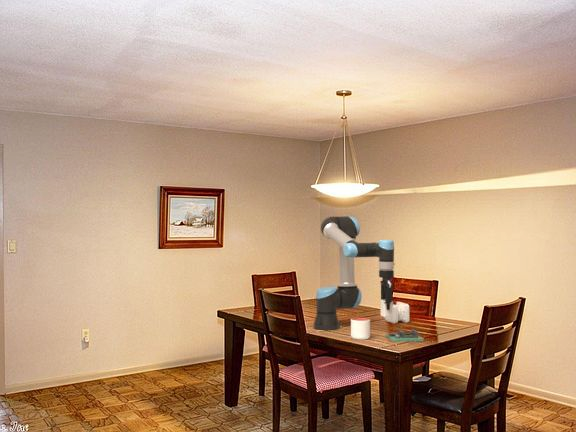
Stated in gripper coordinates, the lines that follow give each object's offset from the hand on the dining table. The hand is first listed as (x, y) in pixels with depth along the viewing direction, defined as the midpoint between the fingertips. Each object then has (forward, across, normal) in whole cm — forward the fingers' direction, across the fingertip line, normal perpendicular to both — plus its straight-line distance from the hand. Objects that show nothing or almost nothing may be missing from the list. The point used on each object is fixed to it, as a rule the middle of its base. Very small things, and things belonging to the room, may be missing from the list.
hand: (386, 315), depth 287 cm
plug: (0, 0, 0) cm, 0 cm away
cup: (+14, +8, +11) cm, 20 cm away
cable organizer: (+14, +53, -22) cm, 59 cm away
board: (+13, +5, -11) cm, 18 cm away
